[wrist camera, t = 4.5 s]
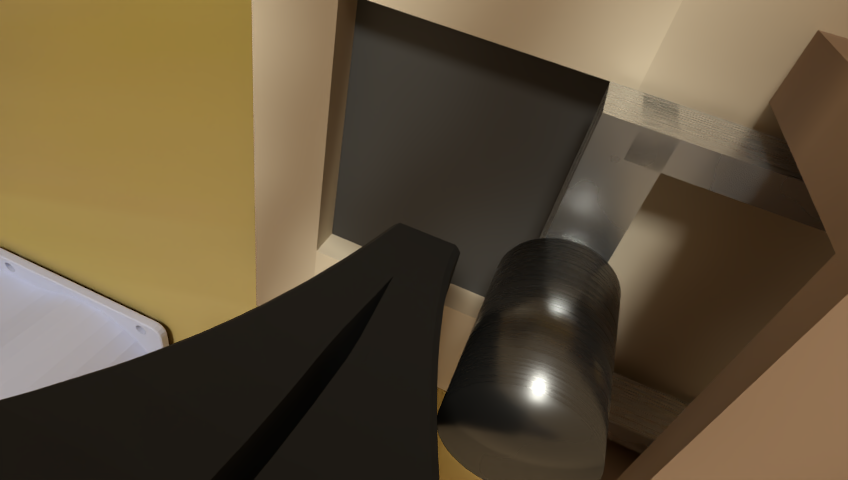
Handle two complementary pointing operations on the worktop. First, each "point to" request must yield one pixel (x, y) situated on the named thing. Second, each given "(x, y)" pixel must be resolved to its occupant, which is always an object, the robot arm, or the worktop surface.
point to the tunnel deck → (546, 173)
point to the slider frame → (593, 295)
